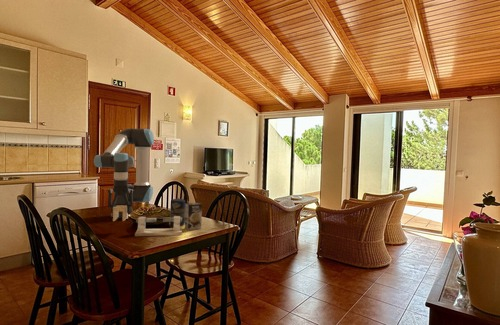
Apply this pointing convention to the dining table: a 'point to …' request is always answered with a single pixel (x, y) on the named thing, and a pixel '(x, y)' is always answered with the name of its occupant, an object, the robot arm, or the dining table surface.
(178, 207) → the canister
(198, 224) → the coffee box
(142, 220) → the shaft rig
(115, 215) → the block
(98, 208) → the dining table surface
